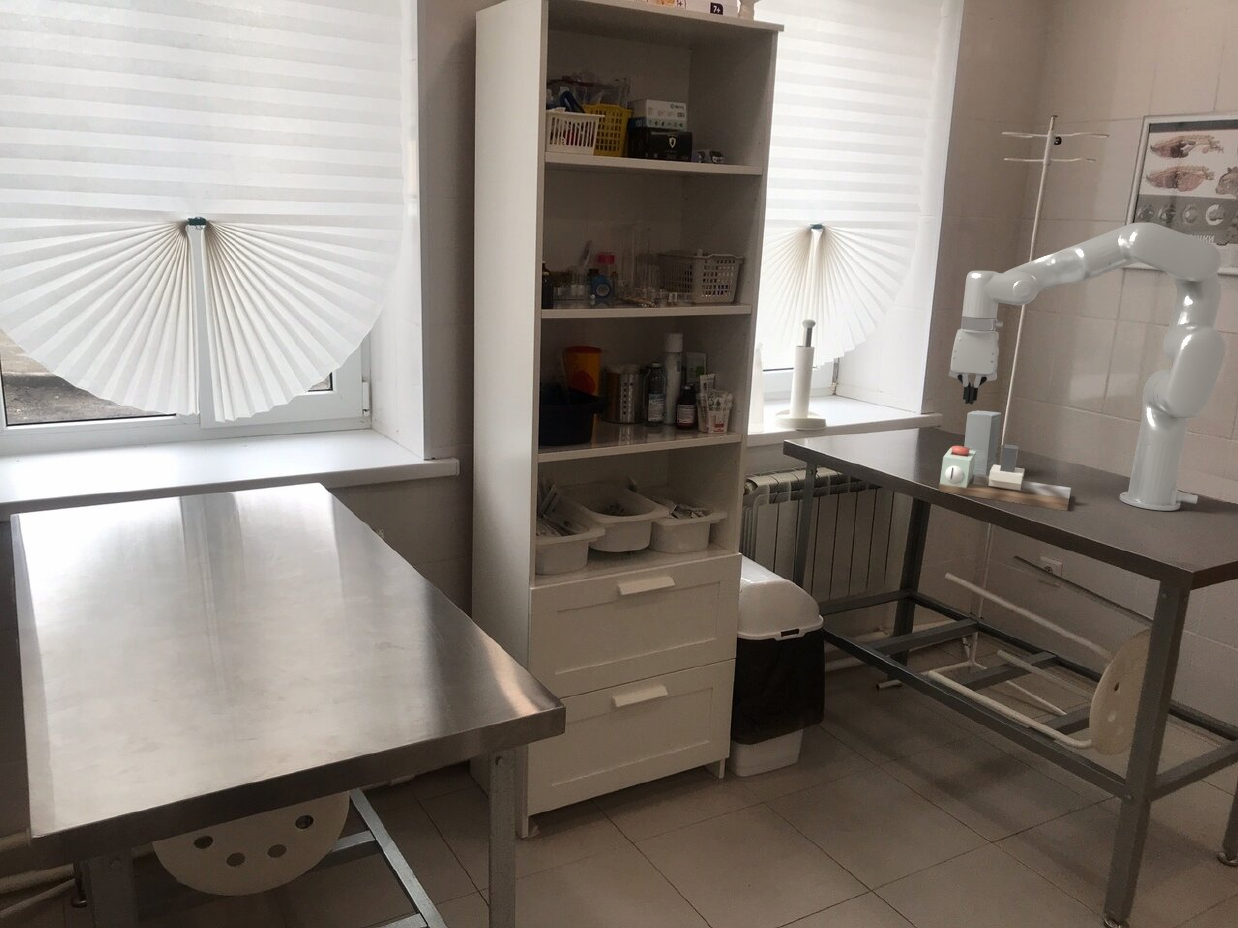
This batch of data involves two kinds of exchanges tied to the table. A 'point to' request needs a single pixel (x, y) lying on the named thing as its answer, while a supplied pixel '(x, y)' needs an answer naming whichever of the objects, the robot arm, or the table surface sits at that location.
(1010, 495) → the walnut rail board
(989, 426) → the skincare box
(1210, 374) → the robot arm
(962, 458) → the sage gauge cabinet
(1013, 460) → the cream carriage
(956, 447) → the red reset button
